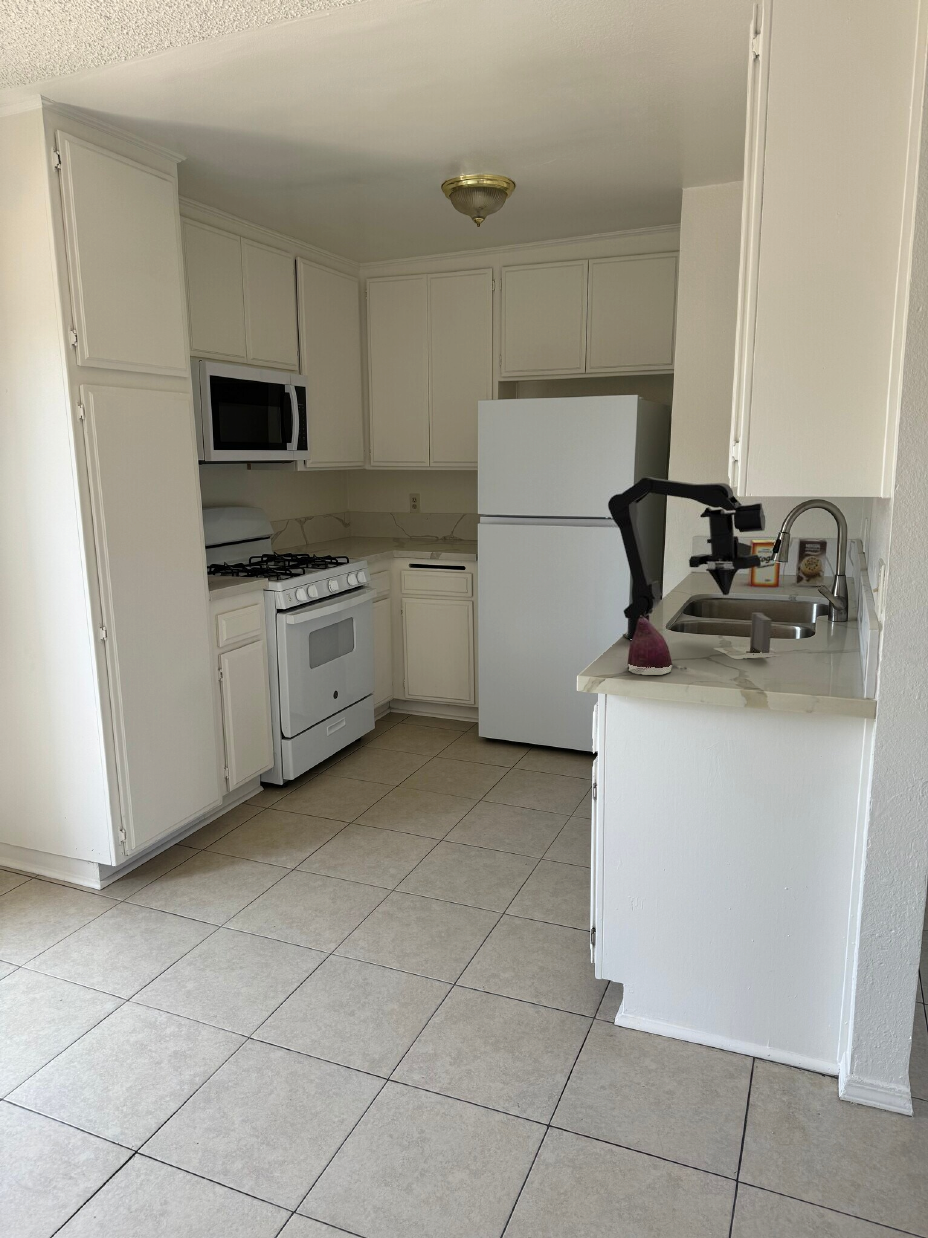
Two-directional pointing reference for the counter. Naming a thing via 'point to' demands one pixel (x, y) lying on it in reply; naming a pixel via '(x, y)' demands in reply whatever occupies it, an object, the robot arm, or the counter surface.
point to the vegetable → (648, 647)
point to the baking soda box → (764, 565)
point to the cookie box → (810, 562)
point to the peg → (760, 633)
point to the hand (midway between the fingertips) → (726, 594)
